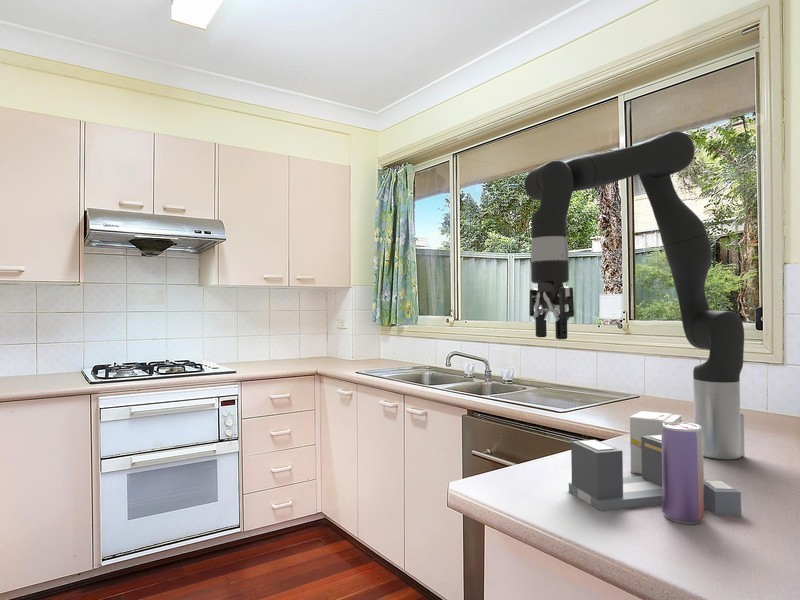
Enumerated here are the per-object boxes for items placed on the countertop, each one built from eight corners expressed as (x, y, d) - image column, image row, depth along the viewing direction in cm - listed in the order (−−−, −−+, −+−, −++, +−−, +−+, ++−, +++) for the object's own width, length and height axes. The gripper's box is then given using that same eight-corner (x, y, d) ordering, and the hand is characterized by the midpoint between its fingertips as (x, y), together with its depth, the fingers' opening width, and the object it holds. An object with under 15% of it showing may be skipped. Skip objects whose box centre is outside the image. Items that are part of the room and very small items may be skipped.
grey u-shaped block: (660, 482, 103) (659, 432, 104) (700, 500, 94) (699, 445, 94) (568, 491, 99) (568, 438, 99) (601, 510, 89) (600, 453, 89)
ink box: (641, 463, 116) (640, 409, 116) (683, 470, 111) (683, 414, 111) (629, 472, 109) (628, 416, 110) (674, 480, 104) (673, 421, 104)
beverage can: (682, 527, 82) (681, 430, 82) (654, 513, 88) (653, 422, 88) (713, 523, 84) (711, 428, 84) (683, 509, 89) (682, 420, 90)
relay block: (698, 502, 93) (698, 478, 93) (723, 503, 93) (722, 479, 93) (715, 515, 87) (715, 490, 87) (741, 516, 87) (740, 490, 87)
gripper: (585, 256, 103) (586, 339, 103) (549, 263, 117) (550, 336, 117) (549, 256, 102) (551, 340, 102) (517, 262, 116) (519, 336, 115)
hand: (550, 338), depth 109 cm, fingers open, 8 cm apart
